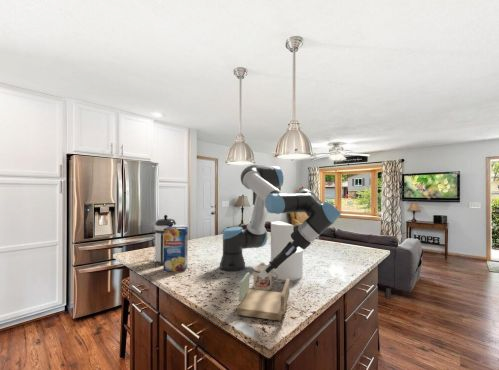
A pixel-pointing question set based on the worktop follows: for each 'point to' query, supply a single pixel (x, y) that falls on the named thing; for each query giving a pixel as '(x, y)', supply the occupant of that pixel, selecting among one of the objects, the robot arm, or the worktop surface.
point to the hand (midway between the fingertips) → (261, 276)
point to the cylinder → (279, 240)
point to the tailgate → (244, 286)
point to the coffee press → (161, 237)
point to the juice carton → (175, 248)
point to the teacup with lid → (262, 283)
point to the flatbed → (264, 303)
